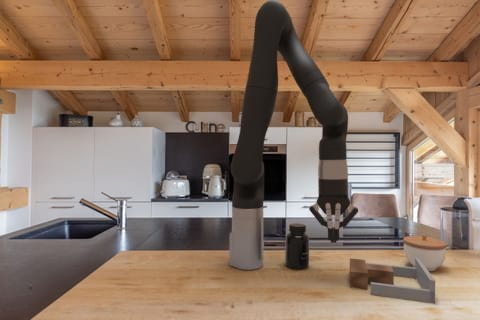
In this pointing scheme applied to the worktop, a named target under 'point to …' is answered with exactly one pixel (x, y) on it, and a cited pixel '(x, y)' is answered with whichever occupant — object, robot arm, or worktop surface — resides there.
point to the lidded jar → (425, 251)
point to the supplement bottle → (297, 247)
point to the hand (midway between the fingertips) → (333, 241)
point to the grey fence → (410, 293)
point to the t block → (369, 274)
